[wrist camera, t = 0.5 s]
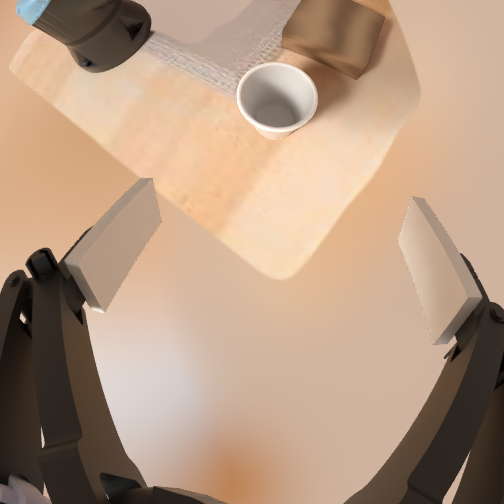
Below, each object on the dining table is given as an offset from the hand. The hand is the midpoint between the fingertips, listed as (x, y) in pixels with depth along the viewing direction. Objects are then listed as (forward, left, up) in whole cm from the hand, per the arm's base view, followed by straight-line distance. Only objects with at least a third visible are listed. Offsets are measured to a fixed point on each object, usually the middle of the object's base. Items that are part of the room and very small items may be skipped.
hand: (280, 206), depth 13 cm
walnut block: (-20, +20, -24) cm, 37 cm away
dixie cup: (-10, +5, -24) cm, 26 cm away
